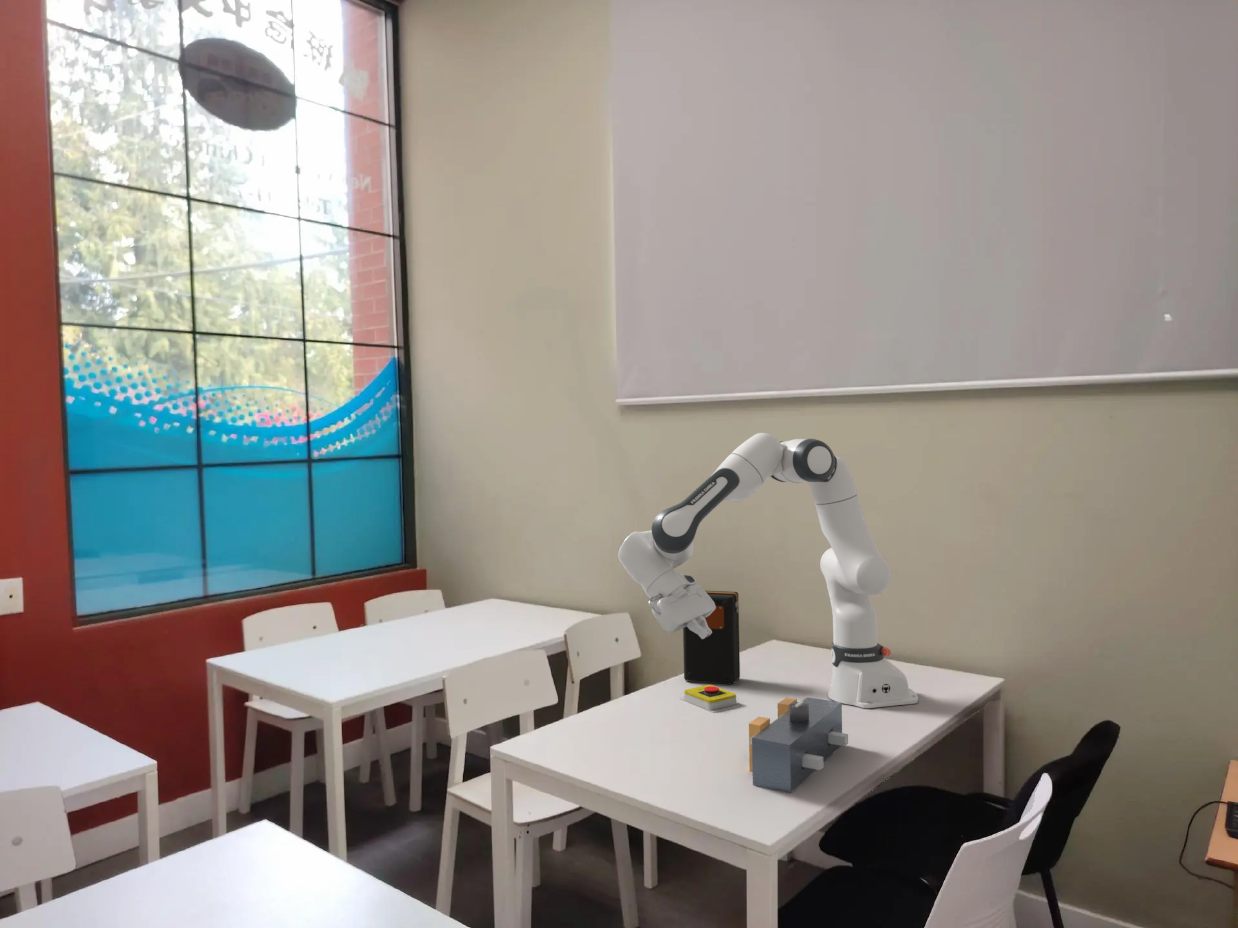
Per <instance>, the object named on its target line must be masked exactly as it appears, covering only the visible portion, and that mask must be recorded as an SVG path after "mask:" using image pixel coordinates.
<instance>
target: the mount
mask: <svg viewBox="0 0 1238 928" xmlns="http://www.w3.org/2000/svg"><path fill="white" fill-rule="evenodd" d="M801 701H803V703H806V704H808V705H809V721H807V722H794V721H791V720H790V710H788V711H787V712H786V713H784V714H783V715H782V716H780V717H779V718H778V717H777V718H776V719H775V720H773V721H772V722H770V724H769V725H768V726H766V727H765V728H764V729H762V730H761V731H760V732H758V733H757V734H756V735H754V736H753V737H751V738H750V744H751V745H752V768H753V772H752V785H753V786H756V787H762V788H765V789H771V790H775V791H779V792H783V793H787V794H792V793H793V792H794V791H795V790H796V789H797V788H798V787H799V786H800V785H801V784H803V782H804V781H806V779H808V778H809V777H810V776H811V775H812V774H813V773H814V772H815V771H816V770H817V769H812V768H807V767H802V755H803V754H804V753H805V754H811V755H816V756H821V757H823V763H824V762H825V761H827V760H828V759H829V758H830V757H831V756H832V755H833V754H834V753H835V752H836V751H837V750H839V748H841V747H842V746H841V745H835V744H830V743H828V732H829V731H833V732H839V733H843V710H842V708H843V703H842V702H836V701H834V700H828V699H821V698H816V697H805V698H803V699H802V700H801Z"/></svg>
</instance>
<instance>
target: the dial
mask: <svg viewBox="0 0 1238 928" xmlns="http://www.w3.org/2000/svg"><path fill="white" fill-rule="evenodd" d="M789 707H790V720H791V721H794V722H807V721H809V705H808V704H806V703H803V701H802V700H800V701H797V702H794V703H790V705H789Z"/></svg>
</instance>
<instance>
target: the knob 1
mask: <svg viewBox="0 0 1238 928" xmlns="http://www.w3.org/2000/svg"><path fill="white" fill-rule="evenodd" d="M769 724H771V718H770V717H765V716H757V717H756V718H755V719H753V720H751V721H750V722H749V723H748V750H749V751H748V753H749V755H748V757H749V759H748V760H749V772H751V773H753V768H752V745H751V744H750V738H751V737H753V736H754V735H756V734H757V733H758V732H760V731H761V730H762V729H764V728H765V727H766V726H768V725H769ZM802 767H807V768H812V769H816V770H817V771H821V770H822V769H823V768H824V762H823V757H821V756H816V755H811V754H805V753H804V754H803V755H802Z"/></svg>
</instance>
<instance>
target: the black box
mask: <svg viewBox="0 0 1238 928" xmlns="http://www.w3.org/2000/svg"><path fill="white" fill-rule="evenodd" d="M704 591H705V592H706V593H707V594H708V595H709V596H710V598H711V599H712V600H713V601H714V603H715V606H716V609H715V610H714V611H713V612H712V613H711V614H710V615H709V616H708V617H706V618H705V619H706V622H707V625H708V627H709V628H710V629H711V630H712V633H711V635H710V636H708V637H706V638H704V639H701V637H700V636H699V635H698V634H696V633H694V632H693V631H691V630H690V629H689V628H688V627H687V626H686V627H684V628H682V630H683V631H682V632H683V633H682V638H683V639H682V640H683V641H682V642H683V644H682V645H683V679H684V680H685V681H690V682H702V683H717V684H730V685H733V684H735V683H736V681H738V680H739V679H740V678H741V662H740V659H741V658H740V655H741V653H740V610H739V608H740V607H739V604H740V603H739V593H738V592H737V591H724V590H722V591H721V590H704Z"/></svg>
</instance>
